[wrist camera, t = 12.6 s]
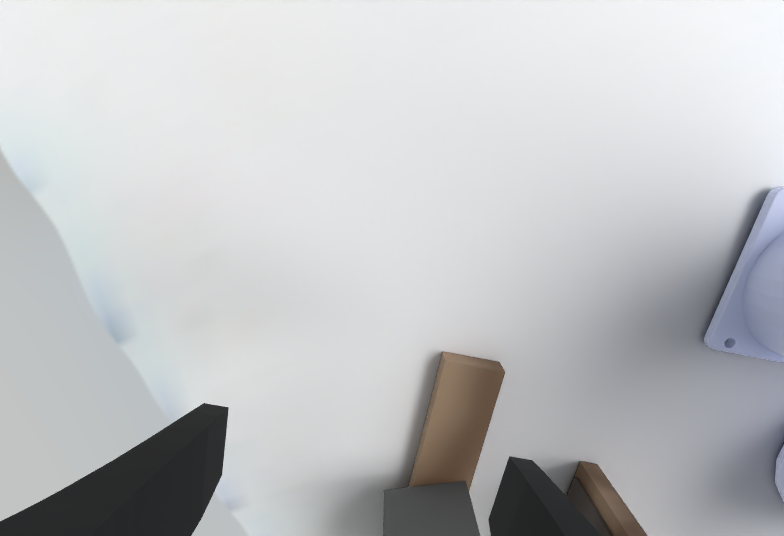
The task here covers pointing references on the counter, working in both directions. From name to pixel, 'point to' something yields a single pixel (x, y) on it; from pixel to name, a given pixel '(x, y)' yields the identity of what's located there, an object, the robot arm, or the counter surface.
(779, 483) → the soap bottle
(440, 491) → the block
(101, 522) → the robot arm
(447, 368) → the door frame
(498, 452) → the counter surface
